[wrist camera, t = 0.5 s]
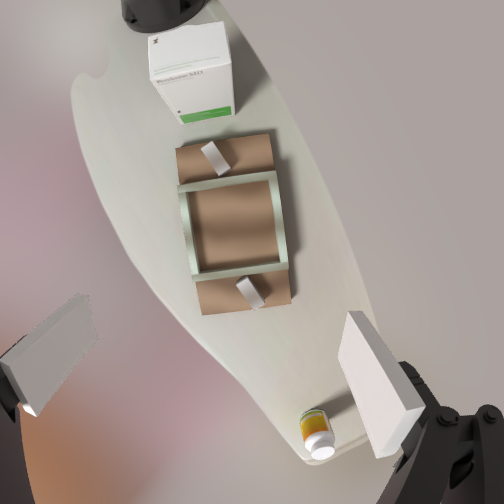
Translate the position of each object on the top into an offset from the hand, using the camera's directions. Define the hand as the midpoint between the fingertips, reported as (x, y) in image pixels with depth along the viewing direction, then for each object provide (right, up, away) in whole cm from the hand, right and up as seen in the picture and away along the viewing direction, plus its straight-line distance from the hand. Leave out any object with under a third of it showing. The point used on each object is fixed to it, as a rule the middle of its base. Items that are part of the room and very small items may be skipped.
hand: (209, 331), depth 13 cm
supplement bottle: (+14, -28, +32) cm, 45 cm away
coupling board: (0, +7, +26) cm, 27 cm away
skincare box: (-5, +26, +23) cm, 35 cm away
